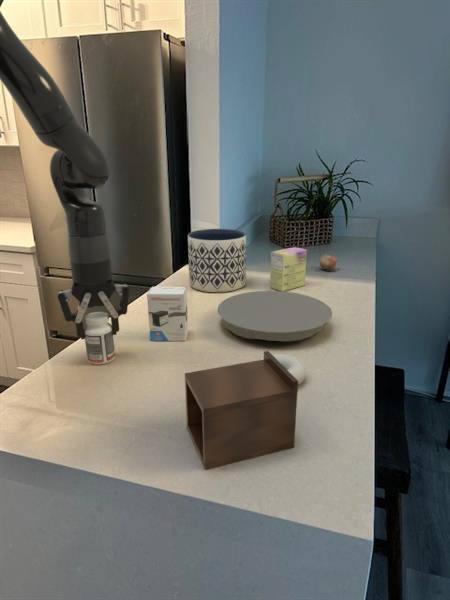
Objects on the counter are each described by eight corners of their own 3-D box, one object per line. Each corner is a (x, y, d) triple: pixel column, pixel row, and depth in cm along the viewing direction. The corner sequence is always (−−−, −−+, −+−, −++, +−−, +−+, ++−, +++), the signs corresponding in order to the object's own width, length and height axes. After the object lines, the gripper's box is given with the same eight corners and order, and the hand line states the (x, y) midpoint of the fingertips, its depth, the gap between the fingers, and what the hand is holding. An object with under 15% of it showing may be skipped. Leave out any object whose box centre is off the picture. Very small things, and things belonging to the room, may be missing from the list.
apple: (317, 272, 152) (318, 256, 149) (320, 267, 159) (321, 251, 157) (334, 274, 150) (335, 257, 148) (337, 268, 157) (338, 252, 155)
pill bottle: (109, 350, 95) (104, 308, 92) (119, 360, 91) (115, 316, 87) (83, 357, 92) (78, 314, 88) (93, 368, 88) (87, 323, 84)
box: (292, 281, 142) (294, 246, 138) (305, 285, 138) (307, 249, 134) (269, 287, 136) (270, 251, 132) (282, 292, 132) (283, 254, 128)
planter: (241, 294, 130) (242, 241, 124) (183, 292, 132) (181, 239, 127) (248, 277, 146) (249, 229, 141) (196, 275, 149) (194, 228, 144)
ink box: (149, 341, 99) (146, 293, 95) (153, 332, 104) (150, 286, 100) (186, 341, 99) (184, 293, 95) (188, 332, 104) (187, 286, 100)
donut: (244, 381, 83) (289, 397, 77) (243, 365, 82) (290, 380, 76) (271, 361, 90) (314, 375, 84) (271, 346, 89) (315, 359, 83)
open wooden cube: (205, 469, 60) (203, 399, 56) (186, 428, 69) (184, 365, 65) (294, 447, 65) (298, 380, 61) (266, 410, 73) (268, 350, 70)
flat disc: (235, 301, 124) (235, 286, 123) (335, 312, 116) (336, 296, 115) (201, 341, 99) (200, 323, 98) (324, 358, 91) (326, 339, 90)
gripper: (49, 264, 78) (62, 348, 84) (129, 258, 83) (136, 337, 88) (50, 255, 85) (62, 333, 90) (124, 249, 89) (131, 324, 95)
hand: (98, 335), depth 89 cm, fingers closed on pill bottle, 5 cm apart
